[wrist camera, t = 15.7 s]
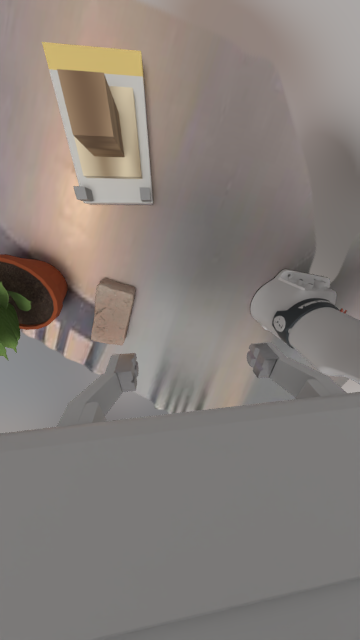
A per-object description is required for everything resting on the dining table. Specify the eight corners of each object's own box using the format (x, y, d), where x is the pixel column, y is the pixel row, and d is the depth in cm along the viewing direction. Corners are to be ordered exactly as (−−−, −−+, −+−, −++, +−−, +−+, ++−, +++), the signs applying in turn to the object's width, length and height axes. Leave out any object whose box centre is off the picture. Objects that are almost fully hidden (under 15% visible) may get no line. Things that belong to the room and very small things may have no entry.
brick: (102, 276, 38) (95, 283, 34) (137, 286, 40) (134, 293, 36) (96, 331, 46) (90, 341, 42) (126, 336, 48) (123, 347, 44)
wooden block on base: (134, 95, 22) (122, 35, 15) (142, 179, 27) (135, 163, 20) (66, 90, 22) (20, 25, 14) (87, 177, 26) (59, 161, 19)
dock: (143, 69, 23) (138, 27, 18) (153, 204, 32) (151, 201, 27) (55, 62, 22) (24, 15, 17) (90, 204, 31) (76, 200, 25)
